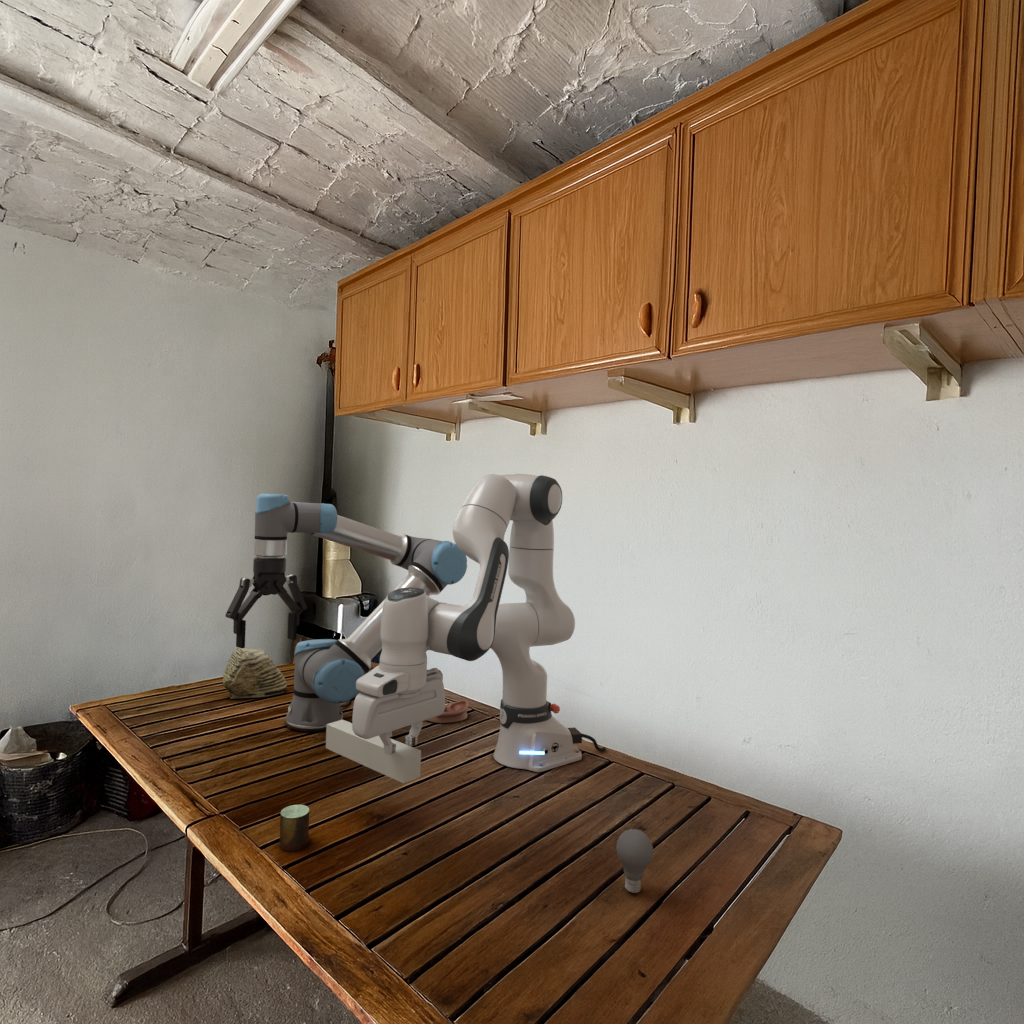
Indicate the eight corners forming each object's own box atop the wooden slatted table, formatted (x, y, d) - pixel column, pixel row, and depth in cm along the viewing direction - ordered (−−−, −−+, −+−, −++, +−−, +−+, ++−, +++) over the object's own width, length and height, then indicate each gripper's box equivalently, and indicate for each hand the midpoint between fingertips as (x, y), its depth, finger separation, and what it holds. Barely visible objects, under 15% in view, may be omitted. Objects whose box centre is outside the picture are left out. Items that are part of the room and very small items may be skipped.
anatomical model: (416, 706, 181) (429, 695, 192) (416, 720, 181) (429, 708, 192) (461, 711, 178) (471, 699, 190) (460, 725, 178) (471, 712, 190)
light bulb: (610, 879, 108) (613, 822, 108) (644, 879, 109) (647, 822, 109) (619, 902, 102) (622, 840, 102) (655, 901, 103) (658, 840, 103)
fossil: (218, 695, 195) (220, 647, 195) (278, 685, 208) (279, 640, 207) (228, 703, 189) (230, 653, 188) (289, 692, 201) (290, 645, 201)
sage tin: (298, 833, 119) (299, 801, 119) (313, 843, 116) (315, 810, 116) (273, 843, 115) (275, 811, 115) (289, 854, 112) (290, 820, 112)
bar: (341, 743, 133) (342, 719, 133) (420, 777, 118) (421, 750, 118) (325, 748, 130) (326, 724, 130) (404, 784, 115) (405, 756, 115)
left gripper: (306, 553, 167) (303, 633, 167) (212, 557, 148) (208, 648, 148) (322, 556, 162) (319, 638, 163) (228, 560, 143) (224, 654, 143)
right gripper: (431, 663, 129) (428, 730, 129) (348, 682, 113) (345, 760, 113) (453, 668, 125) (451, 738, 125) (371, 690, 109) (368, 770, 109)
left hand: (266, 643), depth 155 cm, fingers open, 13 cm apart
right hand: (400, 749), depth 119 cm, fingers closed on bar, 4 cm apart
